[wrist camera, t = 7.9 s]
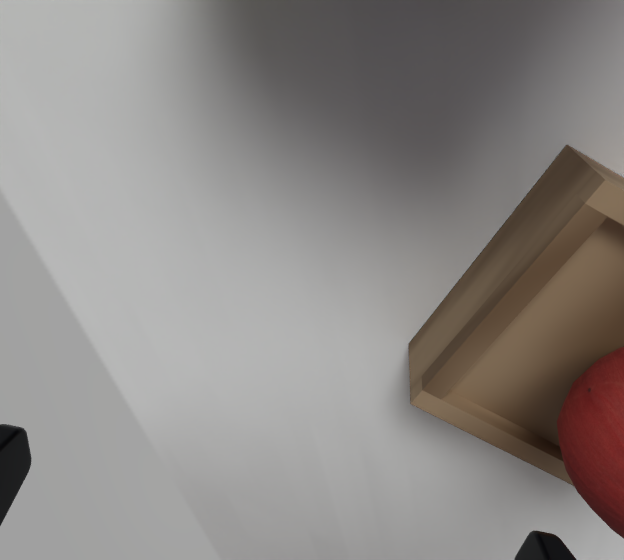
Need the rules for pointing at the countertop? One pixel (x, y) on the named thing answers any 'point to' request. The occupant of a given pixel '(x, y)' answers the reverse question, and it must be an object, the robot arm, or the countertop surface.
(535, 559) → the robot arm
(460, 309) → the wooden tray
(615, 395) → the onion
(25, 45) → the countertop surface
